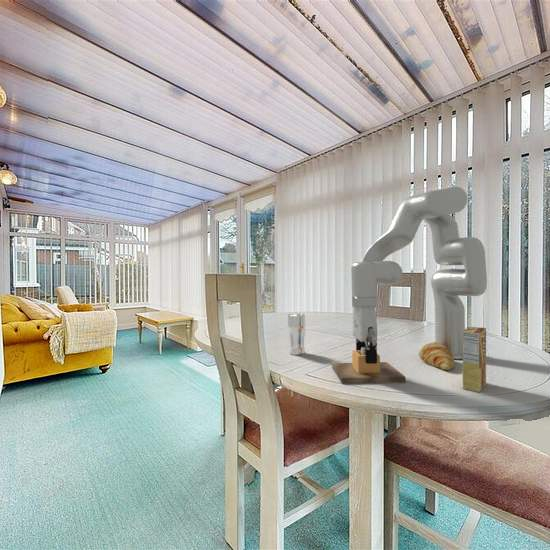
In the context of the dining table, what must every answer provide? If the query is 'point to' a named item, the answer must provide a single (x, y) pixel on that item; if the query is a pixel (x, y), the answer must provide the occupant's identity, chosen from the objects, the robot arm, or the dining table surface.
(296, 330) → the beer glass
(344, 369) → the post board
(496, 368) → the dining table surface
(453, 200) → the robot arm
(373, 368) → the collar
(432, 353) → the croissant
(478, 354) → the candy box
